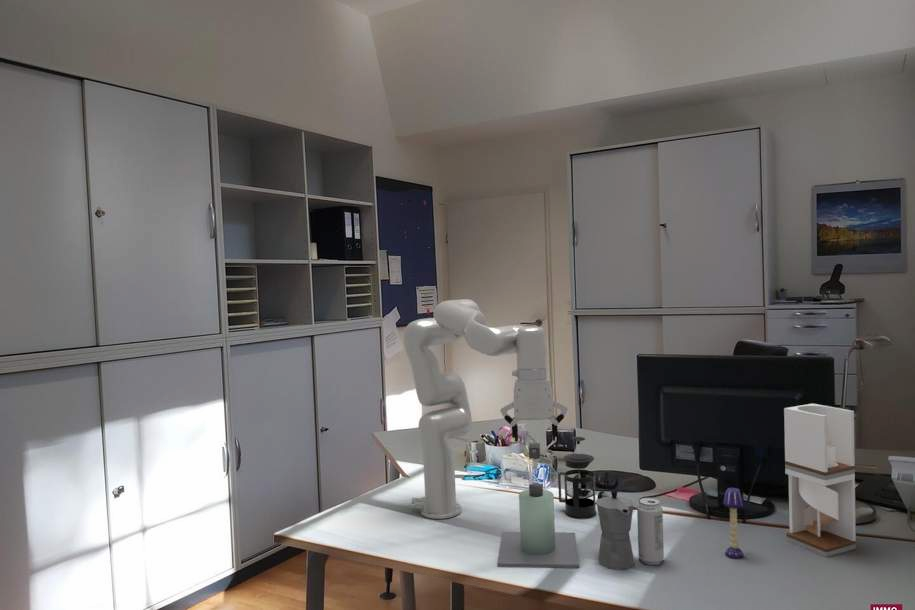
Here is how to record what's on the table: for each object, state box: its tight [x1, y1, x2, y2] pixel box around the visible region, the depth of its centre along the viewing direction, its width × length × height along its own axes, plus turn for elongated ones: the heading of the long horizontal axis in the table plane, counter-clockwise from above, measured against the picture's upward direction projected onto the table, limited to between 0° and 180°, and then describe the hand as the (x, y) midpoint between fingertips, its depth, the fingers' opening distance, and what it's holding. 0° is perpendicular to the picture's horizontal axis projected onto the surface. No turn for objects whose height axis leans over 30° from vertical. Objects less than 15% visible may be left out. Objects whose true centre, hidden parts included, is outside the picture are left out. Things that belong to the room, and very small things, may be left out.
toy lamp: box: [723, 487, 745, 560], centre depth 163 cm, size 5×5×17 cm
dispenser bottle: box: [496, 482, 580, 569], centre depth 171 cm, size 20×20×17 cm
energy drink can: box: [636, 497, 665, 566], centre depth 162 cm, size 6×6×15 cm
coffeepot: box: [595, 489, 636, 570], centre depth 163 cm, size 15×9×18 cm, turn 13°
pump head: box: [528, 442, 541, 470], centre depth 168 cm, size 3×8×6 cm, turn 173°
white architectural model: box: [783, 403, 857, 558], centre depth 167 cm, size 11×11×35 cm
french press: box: [557, 436, 598, 520], centre depth 196 cm, size 12×9×23 cm
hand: (535, 440), depth 170 cm, fingers open, 9 cm apart
